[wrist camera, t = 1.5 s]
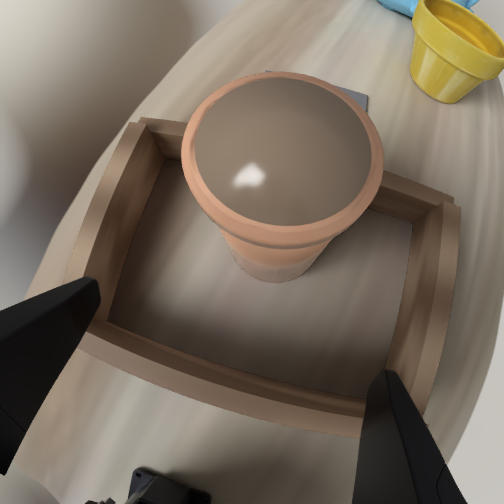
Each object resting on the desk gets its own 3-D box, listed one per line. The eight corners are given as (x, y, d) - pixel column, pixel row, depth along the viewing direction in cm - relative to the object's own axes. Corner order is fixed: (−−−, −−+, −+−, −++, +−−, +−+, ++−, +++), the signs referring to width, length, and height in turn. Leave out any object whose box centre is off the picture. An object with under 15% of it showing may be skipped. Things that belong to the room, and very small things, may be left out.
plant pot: (425, 46, 27) (450, -7, 18) (483, 103, 25) (521, 55, 15) (375, 61, 26) (399, -6, 17) (443, 129, 24) (490, 68, 15)
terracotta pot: (310, 298, 21) (368, 268, 9) (212, 271, 22) (149, 209, 10) (332, 206, 23) (389, 97, 10) (241, 182, 23) (220, 59, 11)
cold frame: (386, 418, 19) (421, 443, 13) (88, 328, 21) (41, 327, 15) (429, 215, 22) (468, 186, 16) (156, 143, 25) (132, 101, 19)
